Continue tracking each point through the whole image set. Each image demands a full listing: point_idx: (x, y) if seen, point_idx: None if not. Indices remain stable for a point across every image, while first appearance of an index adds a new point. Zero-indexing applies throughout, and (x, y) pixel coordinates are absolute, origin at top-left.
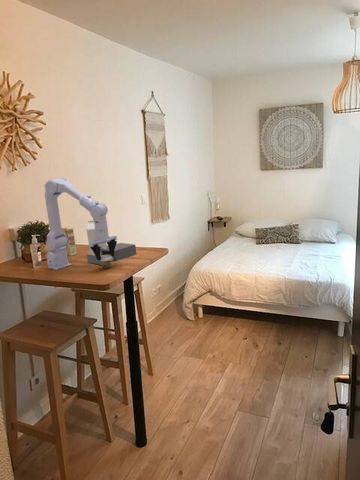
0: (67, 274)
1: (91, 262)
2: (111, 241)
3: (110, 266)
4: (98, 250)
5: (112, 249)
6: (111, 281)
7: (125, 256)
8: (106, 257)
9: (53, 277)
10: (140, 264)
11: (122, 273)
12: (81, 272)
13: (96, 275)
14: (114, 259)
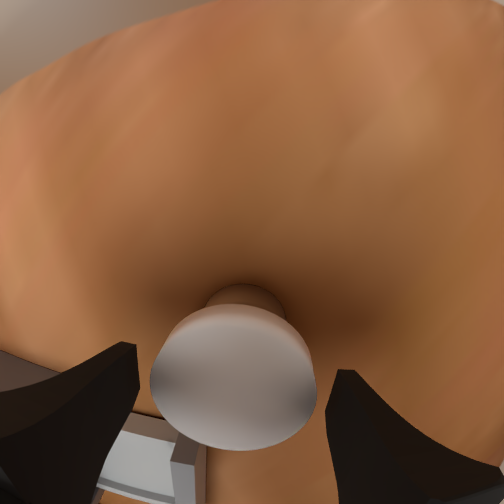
0: (444, 442)
1: (205, 489)
2: (15, 502)
3: (228, 290)
4: (434, 456)
5: (87, 398)
6: (494, 8)
7: (3, 357)
8: (273, 345)
9: (484, 449)
10: (54, 77)
11: (335, 16)
12: (406, 411)
13: (459, 232)
14: None
